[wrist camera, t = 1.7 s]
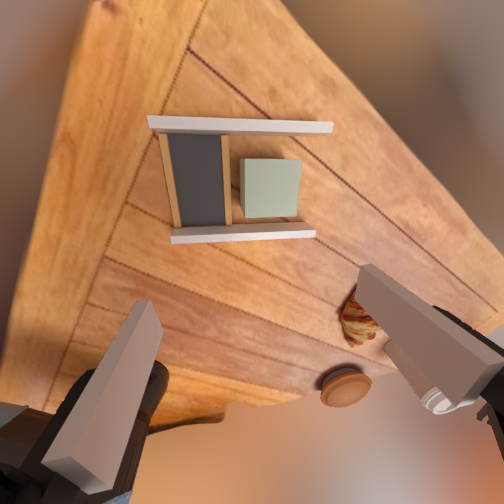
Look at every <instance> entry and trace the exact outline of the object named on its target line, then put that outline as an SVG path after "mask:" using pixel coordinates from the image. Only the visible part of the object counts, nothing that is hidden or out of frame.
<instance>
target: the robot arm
mask: <svg viewBox="0 0 504 504" xmlns="http://www.w3.org/2000/svg"><path fill="white" fill-rule="evenodd" d="M354 299H355V300H356V301H357V302H358V303H359V305H360V306H361V307H362V308H363V309H364V310H365V311H366V312H367V313H368V314H369V315H370V316H371V317H372V318H373V320H374V321H375V322H376V323H377V324H378V325H379V326H380V327H381V328H382V329H383V330H384V331H385V332H386V333H387V335H388V336H389V337H390V338H391V339H392V340H393V341H394V342H395V343H396V344H397V345H398V346H399V347H400V348H401V350H402V351H403V352H404V353H405V354H406V355H407V356H408V357H409V358H410V359H411V360H412V361H413V362H414V363H415V365H416V366H417V367H418V368H419V369H420V370H421V371H422V372H423V373H424V374H425V375H426V376H427V377H428V378H429V380H430V381H431V382H432V383H433V384H434V385H435V386H436V387H437V388H438V389H439V390H440V391H441V392H442V393H443V394H444V396H445V397H446V398H447V399H448V400H449V401H450V402H451V403H452V404H453V405H454V406H455V407H456V408H457V407H461V406H465V405H469V404H473V403H474V401H475V400H476V399H477V398H478V397H479V395H481V396H482V397H483V398H484V399H485V400H486V401H487V403H486V404H485V405H484V406H483V407H482V409H481V410H480V411H479V412H478V413H477V420H480V421H482V419H483V418H484V417H485V416H486V415H488V417H489V420H488V421H487V424H489V425H491V426H492V429H493V432H494V435H495V438H496V440H497V443H498V446H499V449H500V452H501V454H502V458H503V460H504V349H502V348H501V347H499V346H498V345H496V344H495V343H494V342H492V341H491V340H489V339H488V338H486V337H485V336H483V335H482V334H480V333H479V332H478V331H476V330H473V329H472V327H470V326H469V325H467V324H466V323H464V322H462V321H461V320H460V319H458V318H457V317H456V316H454V315H453V314H451V313H450V312H448V311H446V310H443V309H441V308H439V307H437V306H430V305H429V304H428V303H426V302H425V301H423V300H422V299H421V298H419V297H418V296H416V295H415V294H414V293H412V292H411V291H409V290H408V289H407V288H405V287H404V286H402V285H401V284H400V283H398V282H397V281H395V280H394V279H393V278H391V277H390V276H388V275H387V274H385V273H384V272H383V271H381V270H380V269H378V268H377V267H376V266H374V265H373V264H368V265H361V267H360V272H359V277H358V282H357V287H356V292H355V298H354ZM163 334H164V331H163V329H162V326H161V324H160V322H159V319H158V317H157V315H156V312H155V310H154V308H153V305H152V303H151V301H150V299H148V300H142V301H136V303H135V304H134V306H133V308H132V309H131V311H130V313H129V315H128V316H127V318H126V320H125V321H124V323H123V325H122V326H121V328H120V330H119V331H118V333H117V335H116V336H115V338H114V340H113V342H112V343H111V345H110V347H109V348H108V350H107V352H106V353H105V355H104V357H103V358H102V360H101V362H100V364H99V365H98V367H97V369H91V370H87V371H86V372H85V373H84V374H83V375H82V376H81V377H80V378H79V379H78V380H77V381H76V382H75V383H74V385H73V386H72V388H71V389H70V391H69V392H68V394H67V395H66V397H65V400H64V401H63V402H62V403H61V405H60V406H59V408H58V409H57V411H56V414H54V415H53V414H50V413H46V412H42V411H39V410H35V409H32V408H28V407H29V406H28V405H25V406H20V405H15V404H10V403H5V402H0V504H128V503H129V500H130V497H131V495H132V492H133V490H132V489H133V485H134V481H135V477H136V473H137V469H138V466H139V462H140V458H141V454H142V451H143V446H144V443H145V439H146V435H147V431H148V427H149V424H150V420H151V417H152V415H153V414H154V412H155V410H156V408H157V406H158V405H159V403H160V401H161V399H162V397H163V396H164V394H165V392H166V390H167V386H168V382H169V373H168V371H167V369H166V368H165V367H164V366H163V365H162V364H160V363H159V362H157V361H155V358H156V355H157V352H158V349H159V346H160V343H161V340H162V337H163Z"/></svg>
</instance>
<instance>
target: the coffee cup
mask: <svg viewBox="0 0 504 504" xmlns="http://www.w3.org/2000/svg"><path fill="white" fill-rule="evenodd" d="M384 350H385V352H386V353H387V354H388V356H389V357H390V358H391V360H392V361H393V363H394V364H395V365H396V367H397V368H398V369H399V371H400V372H401V373H402V374H403V376H404V377H405V379H406V380H407V382H408V383H409V384H410V386H411V387H412V388H413V390H414V391H415V393H416V394H417V395H418V397H419V398H420V399H421V404H422V405H423V406H424V407H426V408H427V409H429V410H431V411H432V412H433V413H434V414H444V413H448V412H450V411H453V410H455V409H456V407H455V406H454V405H453V404H452V403H451V402H450V401H449V400H448V399H447V398H446V397H445V396H444V394H443V393H442V392H441V391H440V390H439V389H438V388H437V387H436V386H435V385H434V384H433V383H432V382H431V381H430V380H429V378H428V377H427V376H426V375H425V374H424V373H423V372H422V371H421V370H420V369H419V368H418V367H417V366H416V365H415V363H414V362H413V361H412V360H411V359H410V358H409V357H408V356H407V355H406V354H405V353H404V352H403V351H402V350H401V348H400V347H399V346H398V345H397V344H396V343H395V342H394V341H393V340H392V339H391V340H390V341H388V342H387V343H386V345H385V347H384ZM457 408H458V407H457Z"/></svg>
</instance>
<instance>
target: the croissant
mask: <svg viewBox="0 0 504 504" xmlns="http://www.w3.org/2000/svg"><path fill="white" fill-rule="evenodd" d="M355 292H356V290H355V291H354V292H353V294H352V296H351V298H349V299H348V301H347V303H346V305H345V308H344V310H343V313H342V314H341V324H342V326H343V328H344V333H345V335H346V340H347V343H348V345H349V346H350V347H351V348H353V347H354V346H358V345H362V344H363V342H364V341H366V340H371V339H374V338H375V335H376V333H375V332H376V331H380V330H381V329H382V328H381V327H380V326H379V325H378V324H377V323H376V322H375V321H374V320H373V318H372V317H371V316H370V315H369V314H368V313H367V312H366V311H365V310H364V309H363V308H362V307H361V306H360V305H359V303H358V302H357V301H356V300H355V299H354V298H355Z"/></svg>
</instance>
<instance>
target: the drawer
mask: <svg viewBox="0 0 504 504" xmlns="http://www.w3.org/2000/svg"><path fill="white" fill-rule="evenodd" d="M158 137H159V142H160V148H161V154H162V159H163V165H164V171H165V176H166V182H167V188H168V193H169V199H170V205H171V210H172V216H173V222H174V227H175V228H177V227H182V226H199V225H226V226H229V225H232V208H231V183H230V157H229V135H221V136H216V135H175V134H158Z"/></svg>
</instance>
